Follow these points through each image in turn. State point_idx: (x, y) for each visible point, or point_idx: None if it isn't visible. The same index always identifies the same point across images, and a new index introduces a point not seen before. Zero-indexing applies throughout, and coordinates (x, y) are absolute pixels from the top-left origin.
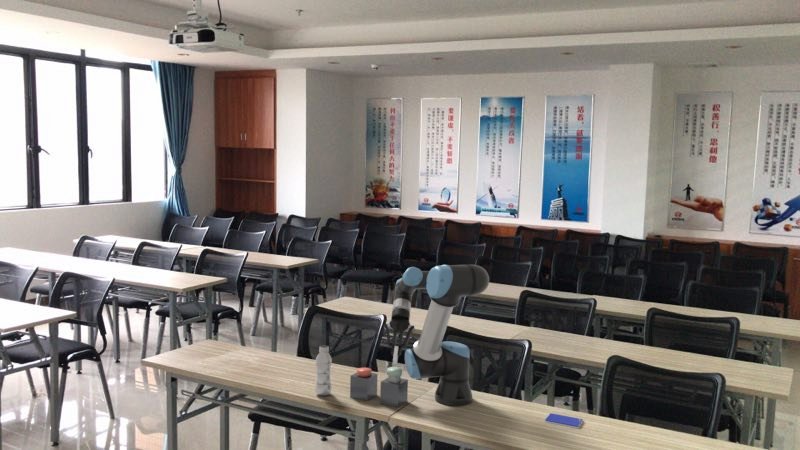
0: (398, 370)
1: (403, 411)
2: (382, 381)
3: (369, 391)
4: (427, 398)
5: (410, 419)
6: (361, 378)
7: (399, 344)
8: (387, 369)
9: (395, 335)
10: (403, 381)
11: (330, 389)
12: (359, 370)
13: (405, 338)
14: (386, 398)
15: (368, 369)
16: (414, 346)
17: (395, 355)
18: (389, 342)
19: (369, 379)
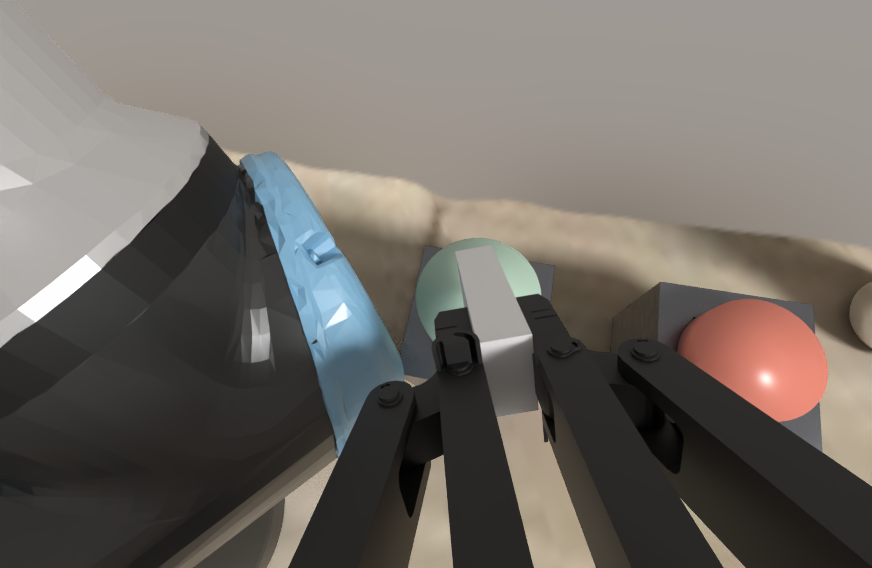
0: (438, 274)
1: (401, 255)
2: (545, 274)
3: (626, 331)
4: (325, 475)
5: (352, 186)
6: (710, 290)
7: (458, 337)
8: (529, 266)
9: (623, 506)
10: (415, 325)
11: (865, 308)
12: (784, 325)
13: (375, 489)
14: None
15: (732, 380)
16: (175, 138)
17: (479, 271)
18: (644, 350)
19: (655, 309)
